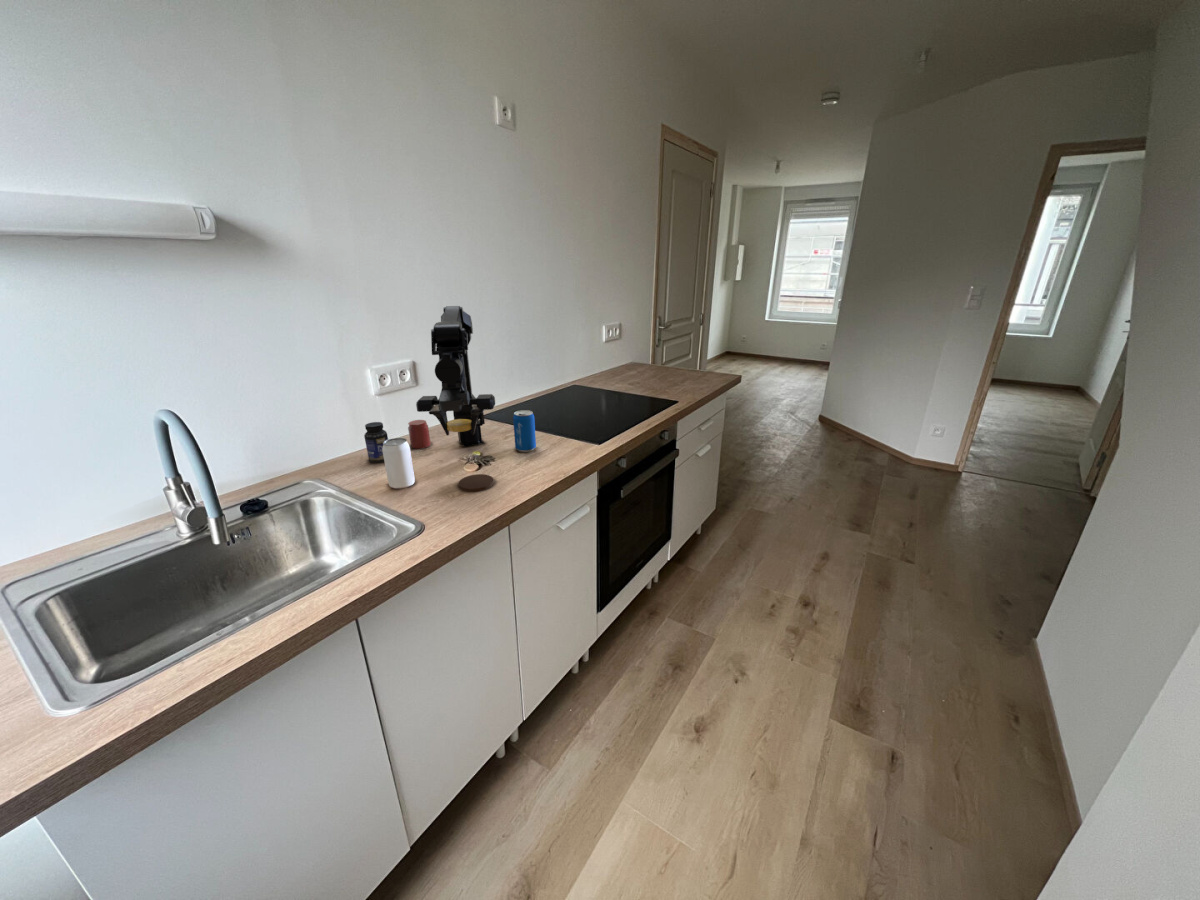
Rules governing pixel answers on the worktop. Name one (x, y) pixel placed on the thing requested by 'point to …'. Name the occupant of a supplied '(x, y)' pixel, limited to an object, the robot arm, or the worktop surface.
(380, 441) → the pill bottle
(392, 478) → the can
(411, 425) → the dark red cylinder
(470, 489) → the coaster
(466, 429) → the lid
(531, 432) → the beverage can
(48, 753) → the worktop surface
